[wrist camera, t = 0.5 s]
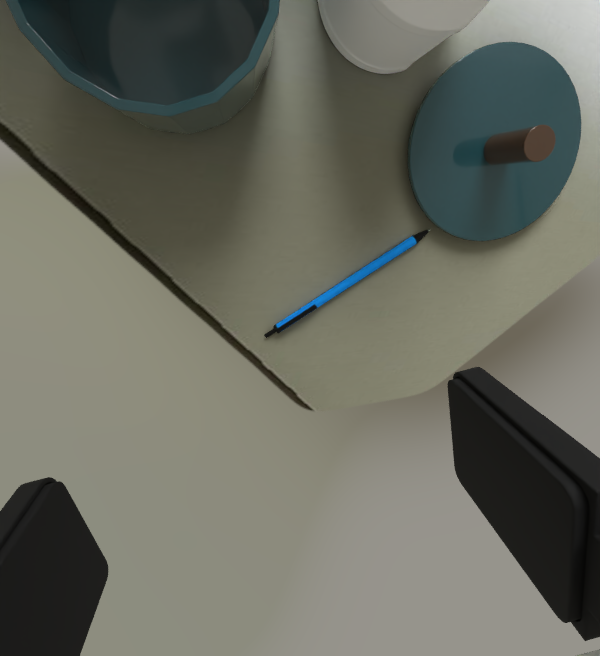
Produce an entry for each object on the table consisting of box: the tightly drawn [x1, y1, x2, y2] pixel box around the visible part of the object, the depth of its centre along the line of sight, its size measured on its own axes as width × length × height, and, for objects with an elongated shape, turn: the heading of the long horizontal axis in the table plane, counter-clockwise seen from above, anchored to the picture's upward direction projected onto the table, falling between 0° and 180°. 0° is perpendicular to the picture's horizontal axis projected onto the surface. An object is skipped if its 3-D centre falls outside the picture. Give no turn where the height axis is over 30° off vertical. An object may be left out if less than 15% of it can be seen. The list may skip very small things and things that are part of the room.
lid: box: [408, 42, 581, 241], centre depth 33 cm, size 16×16×7 cm
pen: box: [265, 229, 430, 338], centre depth 38 cm, size 1×19×1 cm, turn 123°
